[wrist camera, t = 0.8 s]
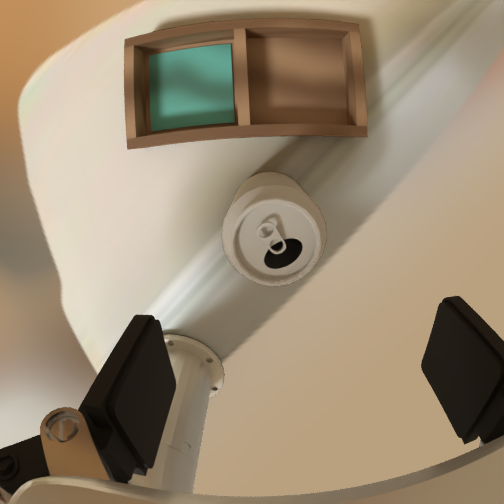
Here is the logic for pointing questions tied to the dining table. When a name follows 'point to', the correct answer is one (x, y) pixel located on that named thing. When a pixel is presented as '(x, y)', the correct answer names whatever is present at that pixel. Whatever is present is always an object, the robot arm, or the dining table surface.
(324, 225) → the can
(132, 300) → the dining table surface
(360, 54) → the tray
